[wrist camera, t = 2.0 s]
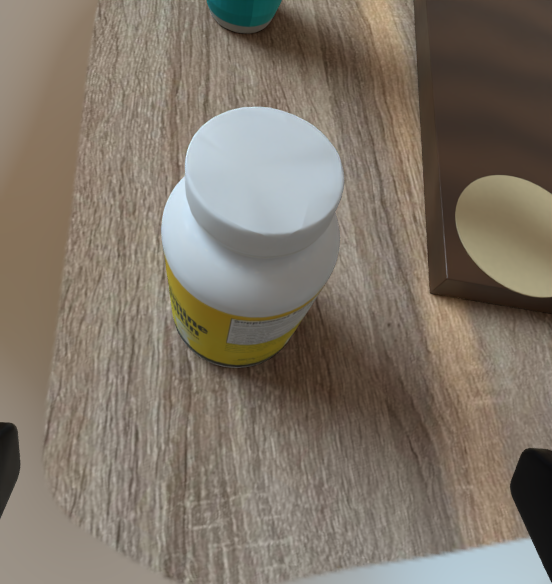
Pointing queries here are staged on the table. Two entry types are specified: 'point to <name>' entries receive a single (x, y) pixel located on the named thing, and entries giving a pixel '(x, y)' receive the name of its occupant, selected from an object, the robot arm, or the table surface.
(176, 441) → the table surface
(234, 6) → the beverage can
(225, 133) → the pill bottle
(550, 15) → the walnut board
